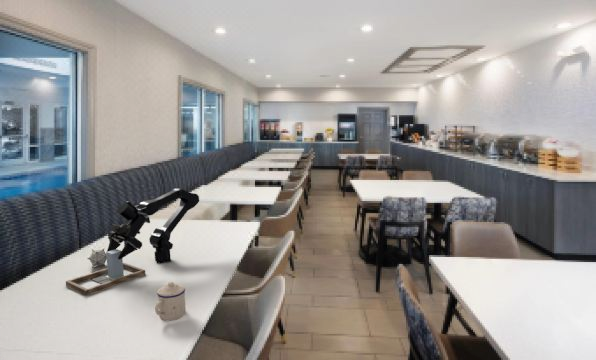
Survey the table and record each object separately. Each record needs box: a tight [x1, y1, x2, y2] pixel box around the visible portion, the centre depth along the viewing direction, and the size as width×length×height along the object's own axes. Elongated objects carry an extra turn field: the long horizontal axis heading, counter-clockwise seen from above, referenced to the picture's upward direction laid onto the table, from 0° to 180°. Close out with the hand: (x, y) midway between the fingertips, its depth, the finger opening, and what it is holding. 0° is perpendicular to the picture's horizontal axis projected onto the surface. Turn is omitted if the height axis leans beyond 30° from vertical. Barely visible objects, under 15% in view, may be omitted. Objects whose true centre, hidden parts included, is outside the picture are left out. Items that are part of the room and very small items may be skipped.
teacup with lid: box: [154, 281, 187, 321], centre depth 133 cm, size 12×9×12 cm
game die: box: [87, 248, 107, 268], centre depth 182 cm, size 9×8×10 cm
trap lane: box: [65, 262, 146, 296], centre depth 166 cm, size 26×16×2 cm, turn 144°
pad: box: [104, 274, 127, 280], centre depth 170 cm, size 6×7×1 cm
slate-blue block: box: [105, 248, 125, 279], centre depth 169 cm, size 4×4×11 cm
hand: (112, 257), depth 168 cm, fingers open, 9 cm apart
